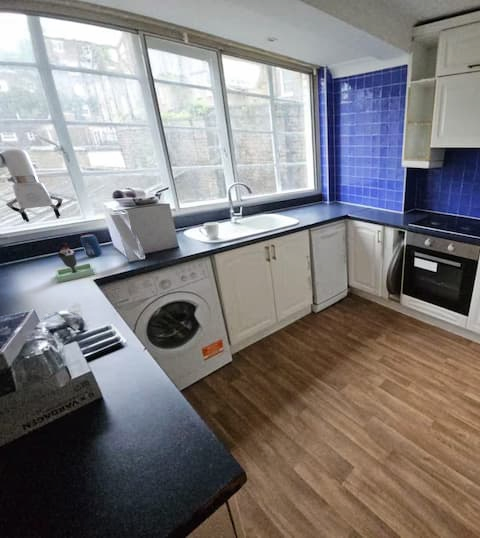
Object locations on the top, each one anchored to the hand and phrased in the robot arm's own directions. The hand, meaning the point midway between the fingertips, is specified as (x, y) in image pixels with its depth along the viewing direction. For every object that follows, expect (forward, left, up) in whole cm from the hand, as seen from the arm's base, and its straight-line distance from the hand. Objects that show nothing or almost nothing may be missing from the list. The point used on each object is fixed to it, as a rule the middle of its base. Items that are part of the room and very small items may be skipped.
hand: (43, 219), depth 132 cm
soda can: (+12, +29, -28) cm, 42 cm away
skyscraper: (+28, +2, -28) cm, 39 cm away
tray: (+3, -1, -28) cm, 28 cm away
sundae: (+3, -1, -27) cm, 27 cm away
